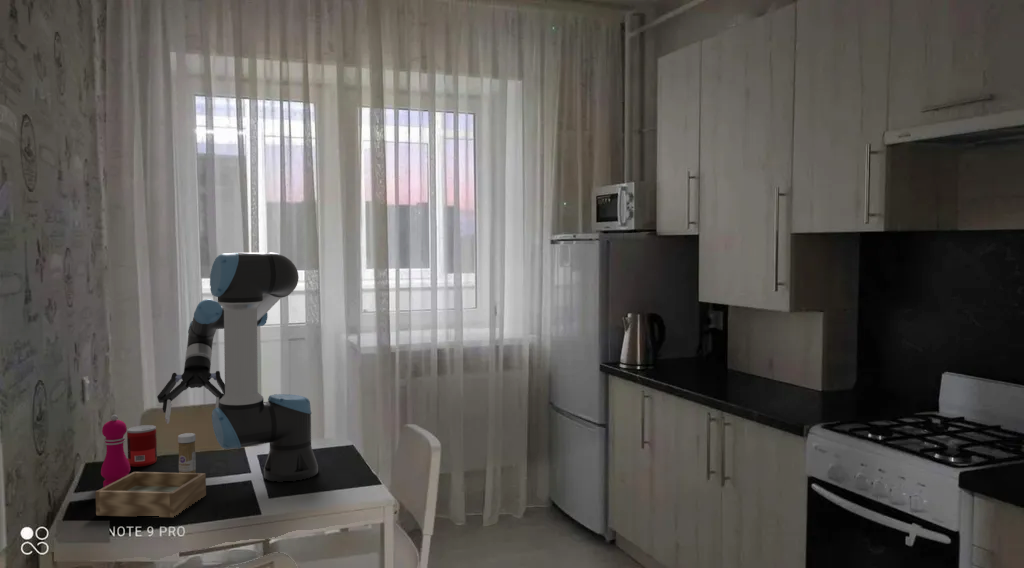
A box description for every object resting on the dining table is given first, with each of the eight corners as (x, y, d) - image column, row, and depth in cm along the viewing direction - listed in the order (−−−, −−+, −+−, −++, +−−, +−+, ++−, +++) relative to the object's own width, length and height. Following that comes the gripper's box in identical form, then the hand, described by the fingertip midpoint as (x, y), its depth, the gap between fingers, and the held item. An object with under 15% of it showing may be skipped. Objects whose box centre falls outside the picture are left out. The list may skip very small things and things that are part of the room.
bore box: (206, 495, 195) (205, 473, 194) (173, 517, 179) (173, 493, 178) (134, 493, 196) (133, 471, 196) (96, 515, 180) (95, 491, 180)
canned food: (162, 461, 225) (161, 426, 225) (137, 468, 219) (136, 432, 218) (148, 458, 229) (147, 423, 229) (123, 464, 223) (121, 429, 222)
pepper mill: (118, 490, 198) (115, 418, 197) (95, 489, 200) (92, 417, 199) (136, 482, 206) (134, 412, 205) (114, 480, 207) (112, 411, 206)
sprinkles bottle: (176, 484, 204) (174, 436, 203) (182, 478, 209) (181, 432, 208) (192, 483, 204) (191, 436, 204) (199, 478, 209) (197, 432, 208)
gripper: (241, 366, 235) (237, 423, 222) (156, 370, 229) (148, 429, 215) (239, 352, 230) (235, 409, 216) (152, 356, 223) (143, 415, 210)
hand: (192, 419), depth 216 cm, fingers open, 13 cm apart
